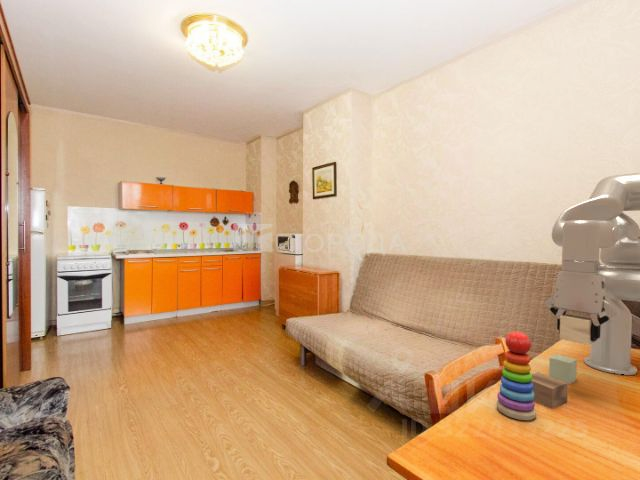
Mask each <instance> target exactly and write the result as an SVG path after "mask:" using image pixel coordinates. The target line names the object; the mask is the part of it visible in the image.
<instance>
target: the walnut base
mask: <svg viewBox="0 0 640 480" xmlns="http://www.w3.org/2000/svg"><path fill="white" fill-rule="evenodd" d="M531 374H532V380H531V382H532V383H533V386H534V388H533V392H534V395H535V396H534V399H533V400H534V403H538V404H540V405H543V406H544V407H547V408H549V409H552V410H553V409H555V408H558V407H560V406H562V405H564V404H566V403H568V389H569V388H568V385H569V384H568V383H566V382H564V381H561V380H558V379H555V378H552V377H550V376H549V375H546V374H544V373H541V372H534V373H531Z"/></svg>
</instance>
